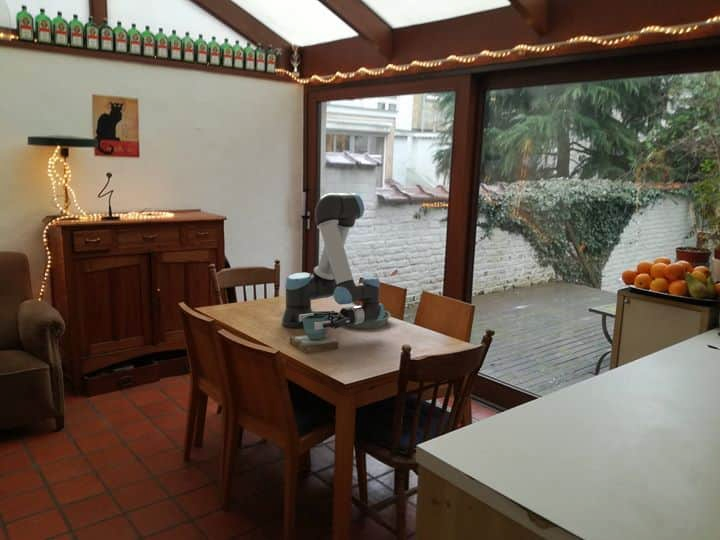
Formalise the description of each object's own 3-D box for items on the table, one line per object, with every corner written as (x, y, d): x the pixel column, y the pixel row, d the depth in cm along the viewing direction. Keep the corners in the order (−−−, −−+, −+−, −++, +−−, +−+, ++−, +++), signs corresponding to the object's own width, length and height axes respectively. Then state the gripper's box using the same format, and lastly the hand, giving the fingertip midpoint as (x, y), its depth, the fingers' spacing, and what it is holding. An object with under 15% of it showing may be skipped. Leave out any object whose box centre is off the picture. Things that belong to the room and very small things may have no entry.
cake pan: (345, 331, 266) (345, 321, 266) (333, 317, 290) (333, 308, 289) (397, 328, 273) (397, 319, 272) (381, 314, 296) (381, 306, 295)
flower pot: (302, 340, 239) (302, 318, 239) (309, 336, 248) (308, 315, 247) (323, 340, 237) (323, 318, 237) (329, 336, 246) (328, 315, 246)
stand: (290, 343, 247) (290, 336, 247) (319, 338, 255) (319, 331, 254) (307, 353, 234) (307, 346, 234) (338, 348, 242) (338, 341, 241)
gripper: (367, 331, 243) (321, 339, 231) (336, 317, 263) (293, 323, 252) (367, 313, 241) (322, 320, 230) (336, 300, 262) (293, 306, 250)
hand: (306, 322), depth 241 cm, fingers open, 13 cm apart
